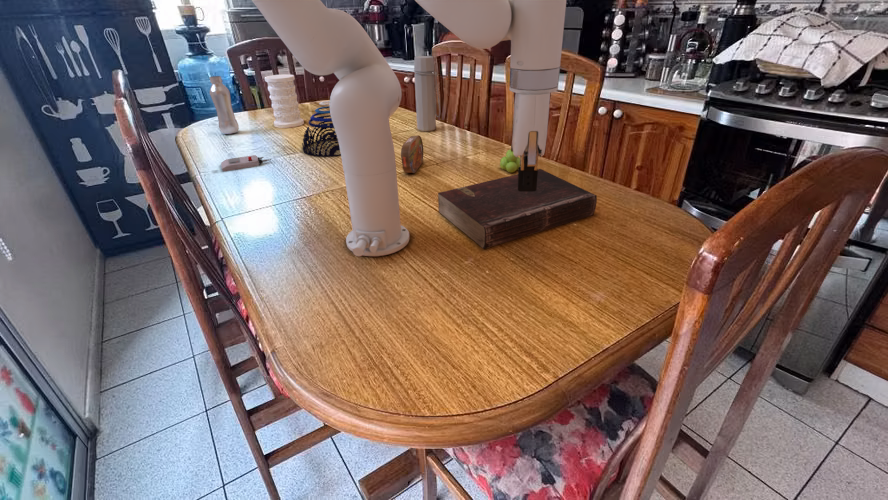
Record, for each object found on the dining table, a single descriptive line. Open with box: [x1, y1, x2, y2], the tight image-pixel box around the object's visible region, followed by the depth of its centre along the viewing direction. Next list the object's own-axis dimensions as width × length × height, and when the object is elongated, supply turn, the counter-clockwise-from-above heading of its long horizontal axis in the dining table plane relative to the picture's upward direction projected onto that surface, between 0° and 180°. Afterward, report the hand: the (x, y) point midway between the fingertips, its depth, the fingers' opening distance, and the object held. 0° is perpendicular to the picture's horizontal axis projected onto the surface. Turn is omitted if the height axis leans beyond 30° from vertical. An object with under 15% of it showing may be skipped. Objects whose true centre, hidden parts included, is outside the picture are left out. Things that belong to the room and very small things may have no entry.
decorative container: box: [264, 73, 305, 129], centre depth 164 cm, size 12×12×18 cm
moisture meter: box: [220, 154, 272, 172], centre depth 125 cm, size 7×16×3 cm, turn 117°
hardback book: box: [437, 168, 598, 250], centre depth 92 cm, size 29×19×5 cm, turn 119°
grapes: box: [499, 143, 521, 174], centre depth 117 cm, size 9×6×7 cm, turn 174°
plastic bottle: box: [208, 75, 240, 135], centre depth 153 cm, size 6×7×20 cm
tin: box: [400, 135, 424, 174], centre depth 118 cm, size 15×3×8 cm, turn 168°
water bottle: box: [413, 55, 441, 132], centre depth 150 cm, size 9×8×25 cm
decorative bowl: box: [301, 100, 341, 158], centre depth 136 cm, size 20×20×14 cm
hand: (526, 189), depth 74 cm, fingers closed
